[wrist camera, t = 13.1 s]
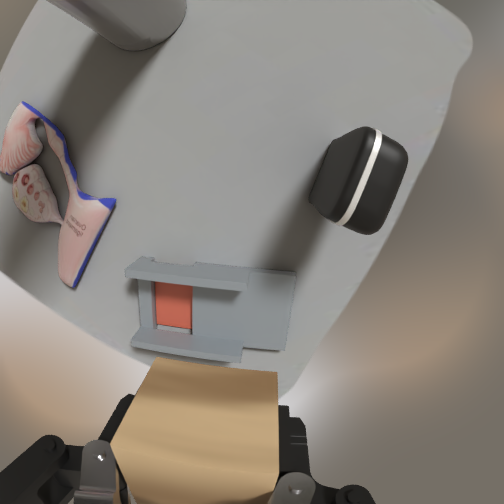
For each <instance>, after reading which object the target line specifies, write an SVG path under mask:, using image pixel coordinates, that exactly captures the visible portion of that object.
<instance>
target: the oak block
mask: <svg viewBox="0 0 504 504" xmlns="http://www.w3.org/2000/svg"><path fill="white" fill-rule="evenodd" d="M110 446H111V448H112V451H113V453H114V456H115V458H116V460H117V463H118V465H119V467H120V470H121V472H122V474H123V476H124V478H125V481H126V483H127V485H128V487H129V489H130V491H131V493H132V495H133V497H134V499H135V501H136V503H137V504H267V503H268V501H269V500H270V498H271V496H272V494H273V491H274V488H275V485H276V482H277V479H278V476H279V425H278V379H277V372H269V371H257V370H246V369H237V368H228V367H220V366H212V365H205V364H198V363H191V362H184V361H178V360H172V359H167V358H161V357H156V359H155V361H154V362H153V364H152V366H151V368H150V370H149V371H148V373H147V375H146V377H145V379H144V381H143V383H142V384H141V386H140V388H139V390H138V392H137V394H136V395H135V397H134V399H133V401H132V403H131V405H130V407H129V409H128V410H127V412H126V414H125V416H124V418H123V420H122V422H121V424H120V426H119V428H118V429H117V431H116V433H115V435H114V437H113V439H112V441H111V443H110Z"/></svg>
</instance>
